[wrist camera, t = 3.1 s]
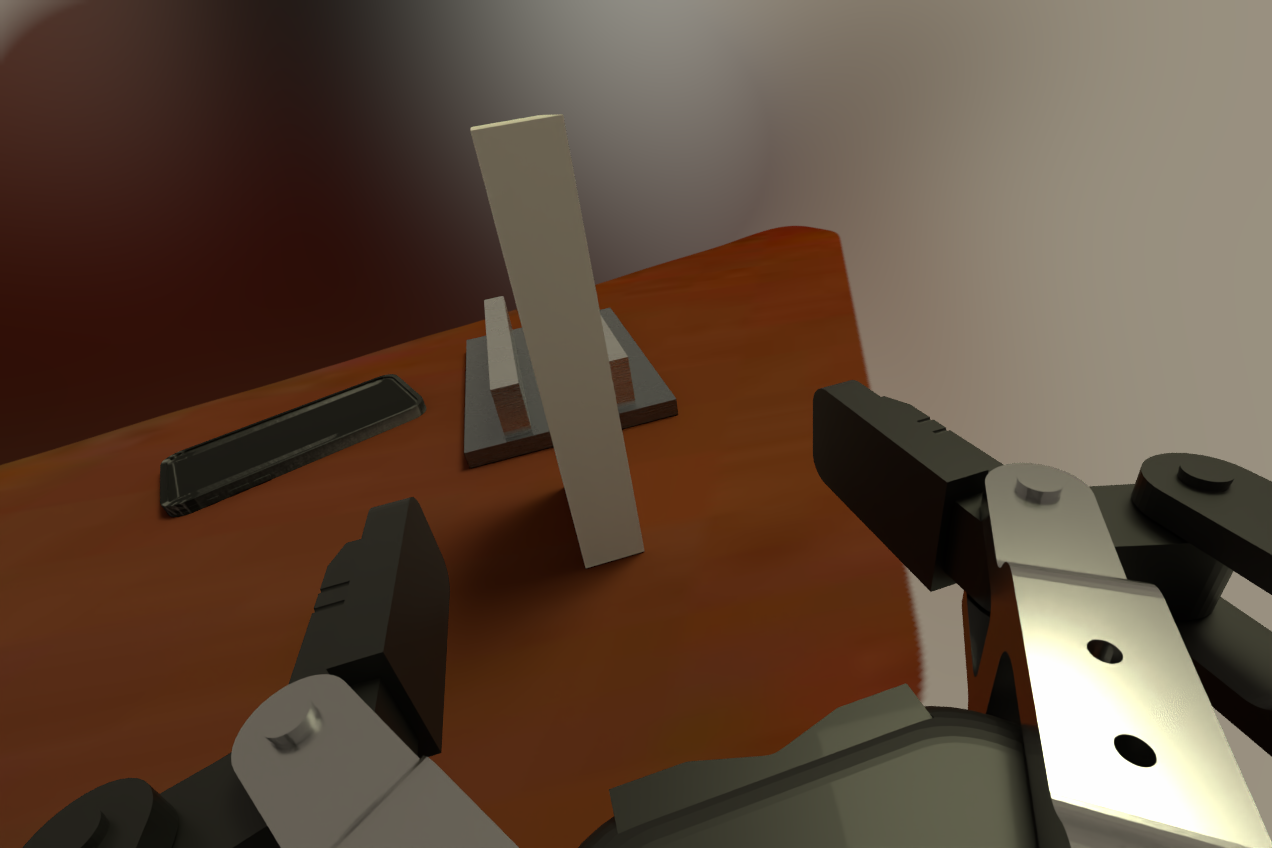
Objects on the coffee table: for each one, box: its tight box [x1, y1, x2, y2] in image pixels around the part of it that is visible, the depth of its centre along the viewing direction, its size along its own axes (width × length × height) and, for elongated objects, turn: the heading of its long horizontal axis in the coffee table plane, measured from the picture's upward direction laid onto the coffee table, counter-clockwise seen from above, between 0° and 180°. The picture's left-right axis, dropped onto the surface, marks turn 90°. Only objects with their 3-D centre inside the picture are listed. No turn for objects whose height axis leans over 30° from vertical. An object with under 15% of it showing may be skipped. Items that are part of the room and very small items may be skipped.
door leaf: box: [471, 115, 644, 568], centre depth 22 cm, size 3×6×16 cm, turn 14°
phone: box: [160, 374, 426, 517], centre depth 37 cm, size 8×1×15 cm
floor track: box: [464, 296, 678, 468], centre depth 38 cm, size 12×18×4 cm, turn 15°
